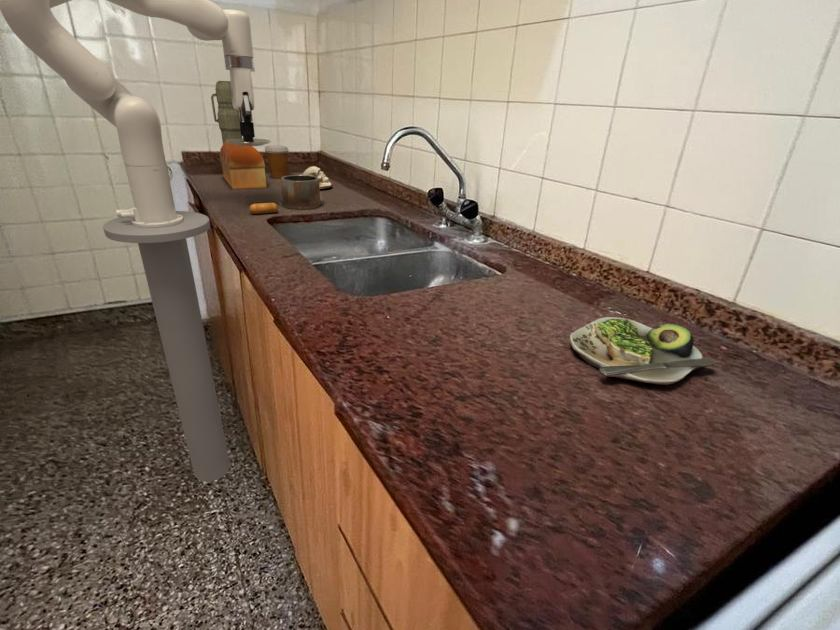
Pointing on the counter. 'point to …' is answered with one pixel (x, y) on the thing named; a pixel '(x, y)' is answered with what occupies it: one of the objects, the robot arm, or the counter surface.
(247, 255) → the counter surface
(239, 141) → the lid
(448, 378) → the counter surface
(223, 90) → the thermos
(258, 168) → the bread
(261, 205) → the eggroll
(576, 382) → the counter surface
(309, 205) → the pot
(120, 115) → the robot arm
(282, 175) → the disposable coffee cup
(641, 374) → the avocado toast plate
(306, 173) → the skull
